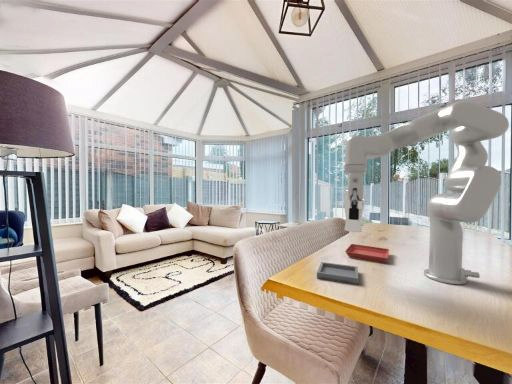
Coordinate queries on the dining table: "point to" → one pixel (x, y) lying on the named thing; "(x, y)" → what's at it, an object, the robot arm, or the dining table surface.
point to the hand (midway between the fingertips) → (353, 218)
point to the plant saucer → (367, 253)
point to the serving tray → (338, 273)
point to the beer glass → (350, 224)
